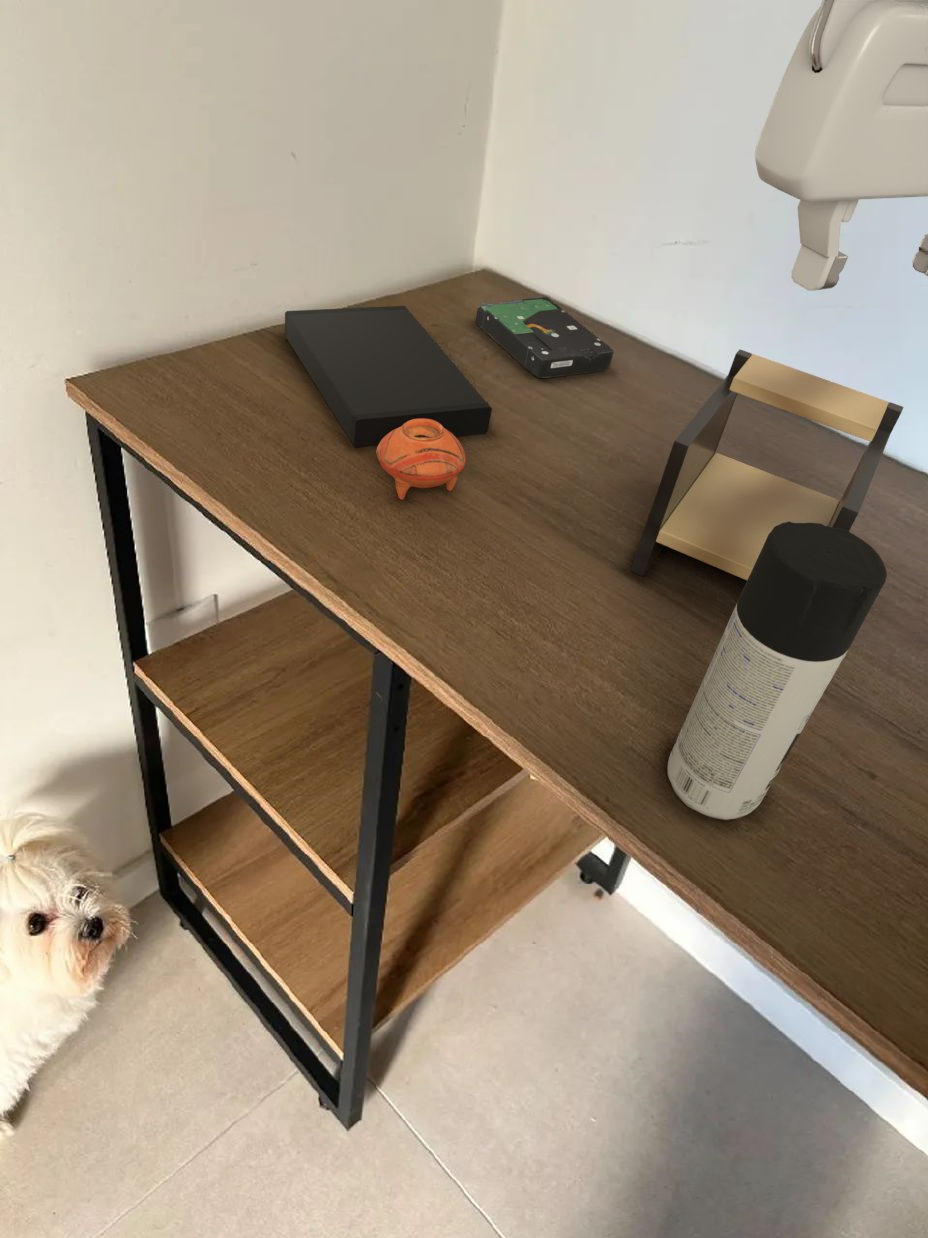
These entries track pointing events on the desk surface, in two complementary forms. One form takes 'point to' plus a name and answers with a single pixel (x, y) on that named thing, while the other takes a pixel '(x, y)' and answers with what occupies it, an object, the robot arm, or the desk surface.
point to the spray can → (773, 665)
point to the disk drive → (544, 337)
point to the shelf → (756, 470)
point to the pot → (421, 456)
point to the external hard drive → (383, 372)
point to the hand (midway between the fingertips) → (873, 278)
